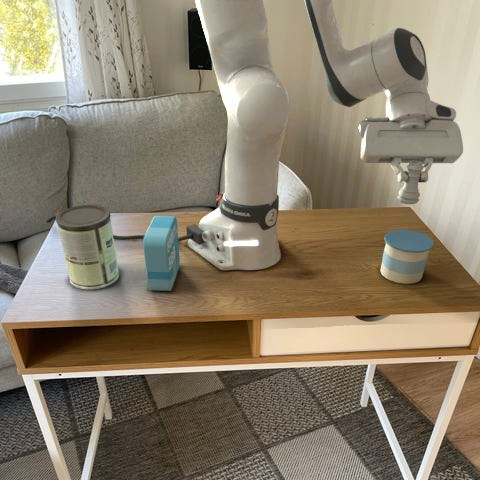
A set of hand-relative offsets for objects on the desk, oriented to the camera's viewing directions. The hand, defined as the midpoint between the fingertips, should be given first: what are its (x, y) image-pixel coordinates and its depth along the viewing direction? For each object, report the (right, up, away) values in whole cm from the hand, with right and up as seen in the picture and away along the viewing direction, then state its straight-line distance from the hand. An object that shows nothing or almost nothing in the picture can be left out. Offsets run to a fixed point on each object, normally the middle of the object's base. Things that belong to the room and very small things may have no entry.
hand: (413, 181), depth 101 cm
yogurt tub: (0, -18, +8) cm, 19 cm away
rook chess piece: (0, -3, +3) cm, 5 cm away
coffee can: (-66, -19, +5) cm, 69 cm away
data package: (-51, -19, +5) cm, 55 cm away
